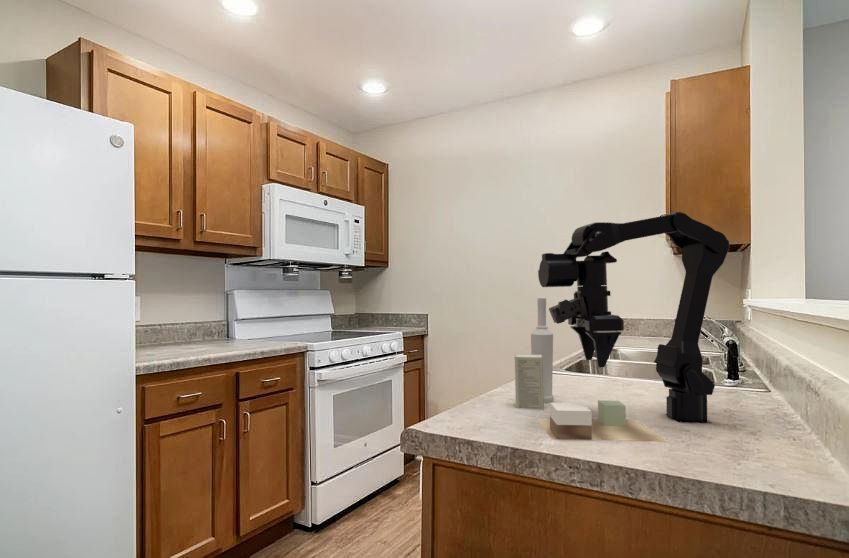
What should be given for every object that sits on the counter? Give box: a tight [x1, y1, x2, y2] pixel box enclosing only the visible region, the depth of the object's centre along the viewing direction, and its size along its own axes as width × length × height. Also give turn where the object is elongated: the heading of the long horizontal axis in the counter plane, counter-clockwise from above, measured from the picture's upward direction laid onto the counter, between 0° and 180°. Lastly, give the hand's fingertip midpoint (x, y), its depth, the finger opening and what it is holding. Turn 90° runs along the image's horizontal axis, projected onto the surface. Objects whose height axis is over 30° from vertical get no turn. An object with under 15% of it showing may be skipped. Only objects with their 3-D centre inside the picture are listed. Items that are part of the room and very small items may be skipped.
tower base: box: [549, 416, 593, 441], centre depth 87 cm, size 6×6×2 cm
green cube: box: [597, 400, 627, 426], centre depth 94 cm, size 4×4×4 cm
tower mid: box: [549, 402, 593, 425], centre depth 87 cm, size 6×6×2 cm
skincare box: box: [514, 353, 545, 410], centre depth 108 cm, size 6×4×12 cm
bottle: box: [530, 297, 554, 404], centre depth 114 cm, size 5×5×25 cm
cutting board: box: [536, 417, 669, 443], centre depth 90 cm, size 20×14×1 cm
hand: (594, 363), depth 96 cm, fingers open, 9 cm apart
